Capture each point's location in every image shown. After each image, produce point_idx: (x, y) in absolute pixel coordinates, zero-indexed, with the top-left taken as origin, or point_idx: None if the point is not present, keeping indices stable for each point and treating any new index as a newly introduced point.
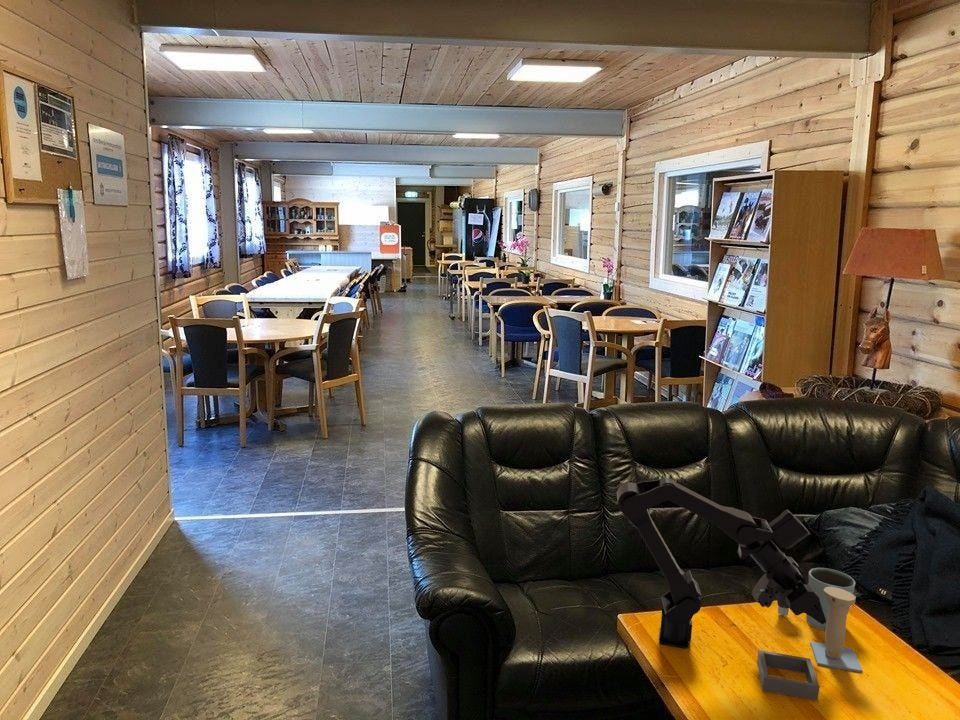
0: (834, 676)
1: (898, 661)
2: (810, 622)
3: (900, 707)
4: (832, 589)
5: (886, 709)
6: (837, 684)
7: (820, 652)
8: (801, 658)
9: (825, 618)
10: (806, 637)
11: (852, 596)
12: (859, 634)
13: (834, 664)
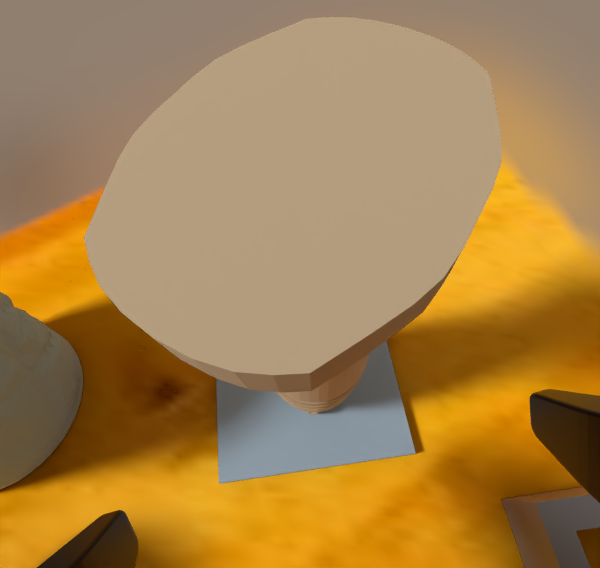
0: (464, 382)
1: None
2: (21, 476)
3: (519, 199)
4: (194, 229)
5: (566, 232)
6: (522, 373)
7: (309, 435)
8: (574, 562)
9: (38, 400)
10: (165, 500)
11: (322, 39)
12: (83, 281)
13: (386, 378)
